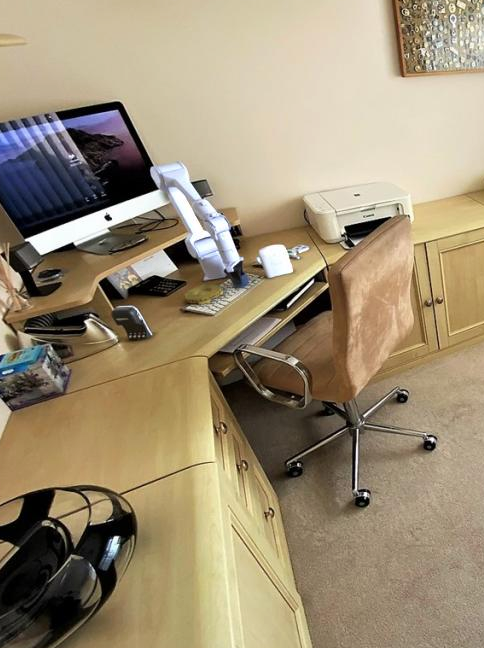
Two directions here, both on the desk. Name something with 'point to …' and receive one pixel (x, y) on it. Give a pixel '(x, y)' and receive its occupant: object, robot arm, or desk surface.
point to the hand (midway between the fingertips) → (240, 281)
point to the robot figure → (291, 252)
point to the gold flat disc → (203, 294)
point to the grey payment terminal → (132, 322)
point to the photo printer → (275, 260)
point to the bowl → (244, 280)
